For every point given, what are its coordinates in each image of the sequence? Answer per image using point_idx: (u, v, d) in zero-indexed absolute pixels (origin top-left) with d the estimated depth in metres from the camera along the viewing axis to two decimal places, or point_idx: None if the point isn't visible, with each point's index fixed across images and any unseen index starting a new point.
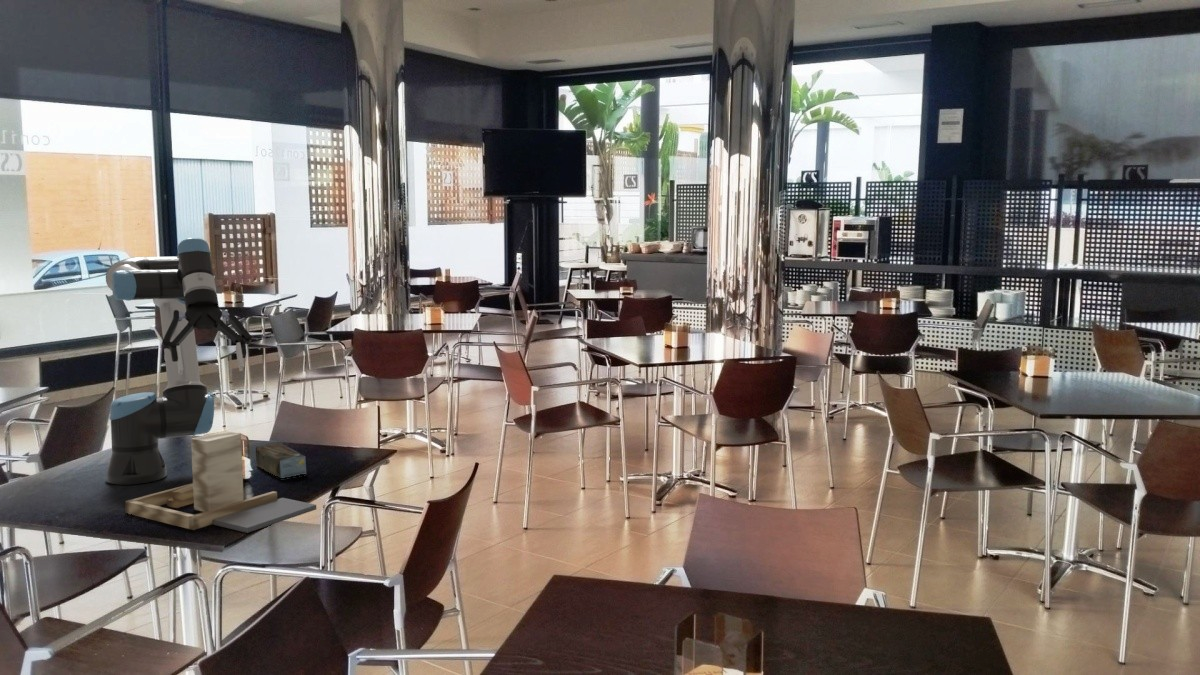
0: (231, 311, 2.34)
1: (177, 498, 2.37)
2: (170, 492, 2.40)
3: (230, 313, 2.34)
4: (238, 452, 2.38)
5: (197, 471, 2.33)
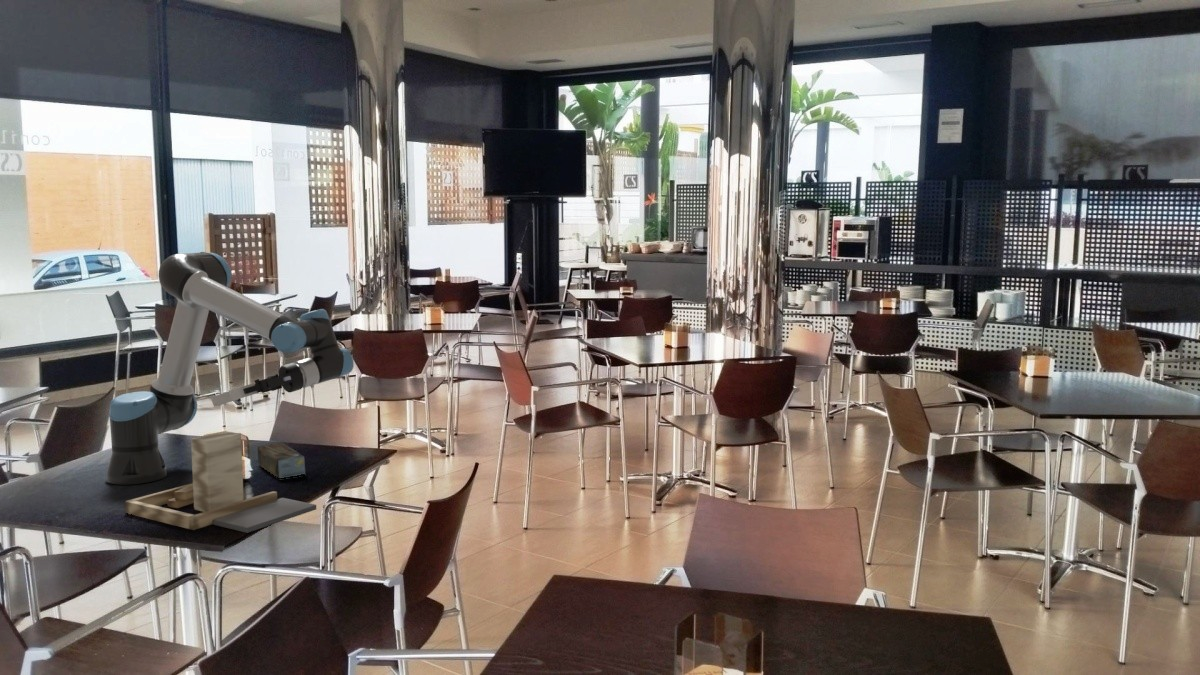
0: None
1: (180, 498, 2.37)
2: (170, 492, 2.40)
3: None
4: (238, 452, 2.38)
5: (197, 471, 2.33)
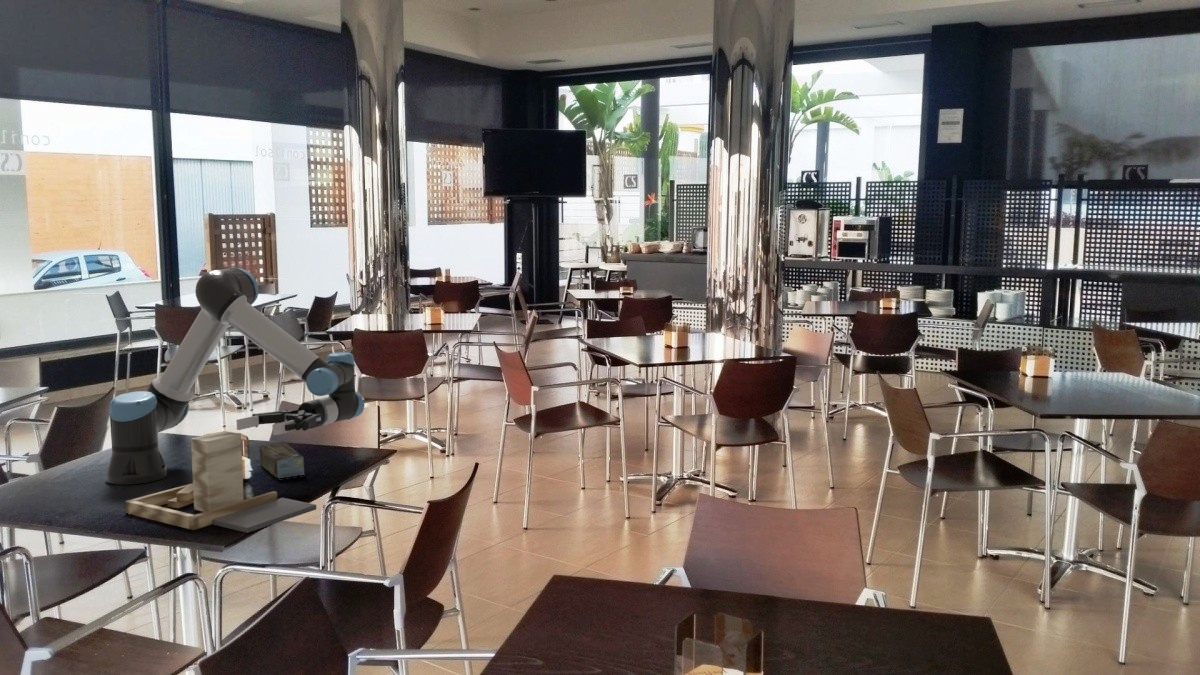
0: (285, 419, 2.62)
1: (182, 499, 2.37)
2: (170, 492, 2.40)
3: None
4: (238, 452, 2.38)
5: (197, 471, 2.33)
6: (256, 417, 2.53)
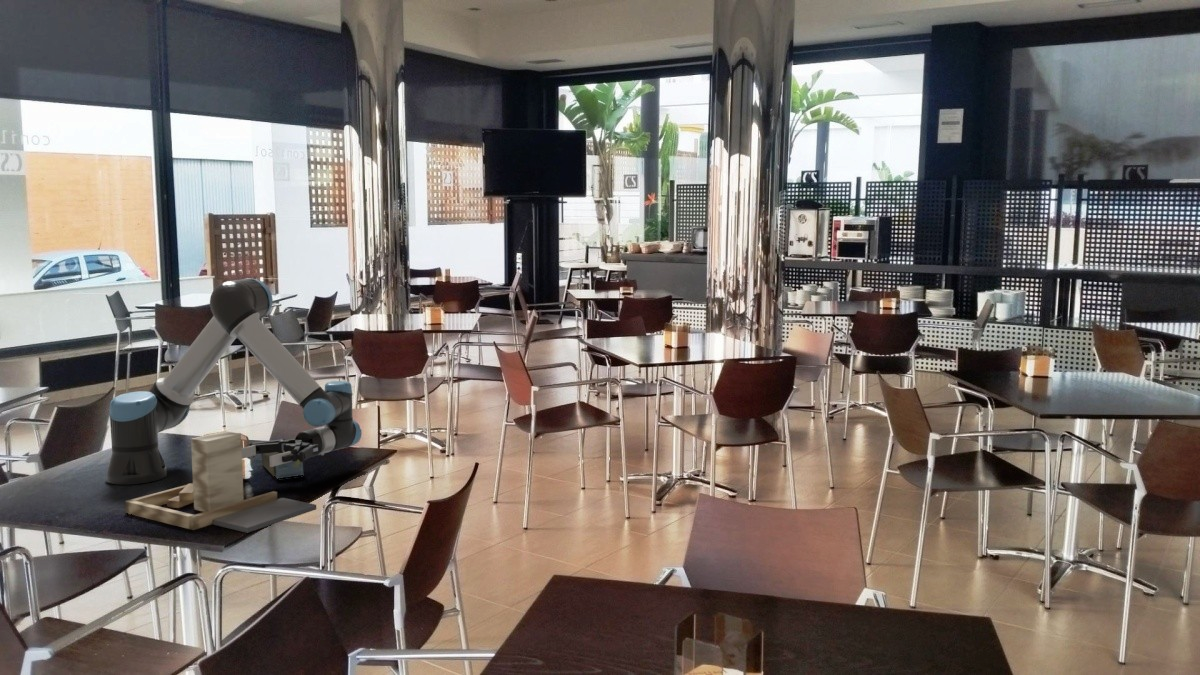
0: (282, 448, 2.62)
1: (185, 499, 2.36)
2: (170, 492, 2.40)
3: None
4: (238, 452, 2.38)
5: (197, 471, 2.33)
6: (253, 447, 2.54)
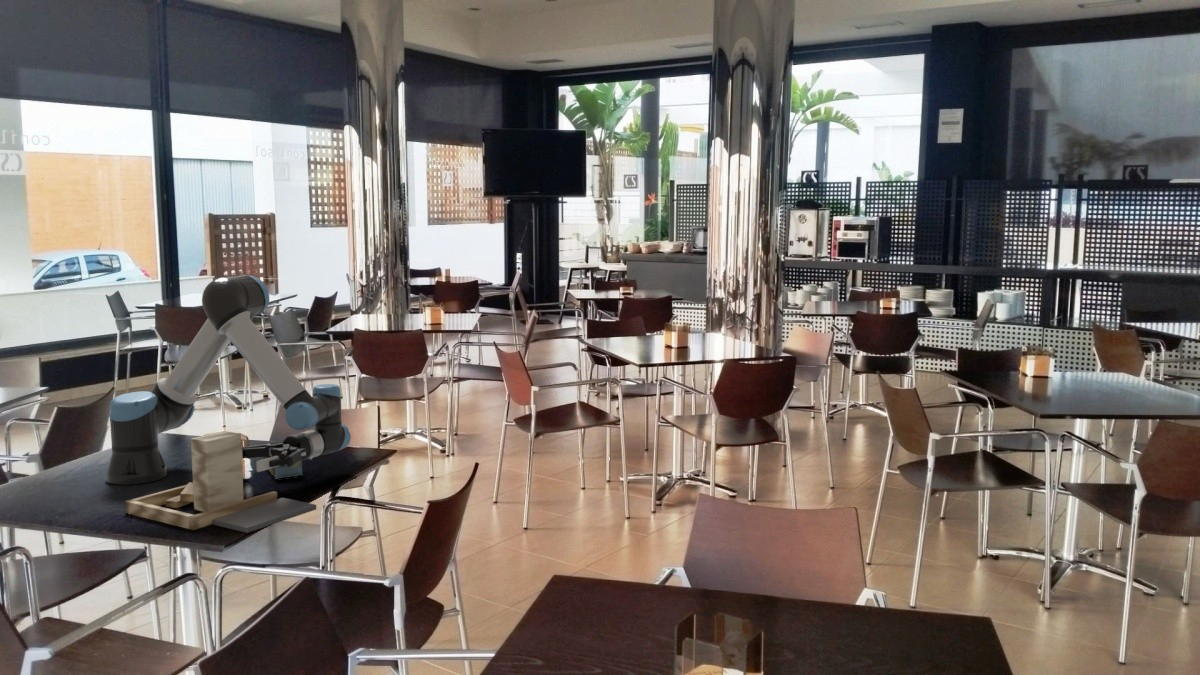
0: None
1: (186, 500, 2.37)
2: (170, 492, 2.40)
3: None
4: (238, 452, 2.38)
5: (197, 471, 2.33)
6: None
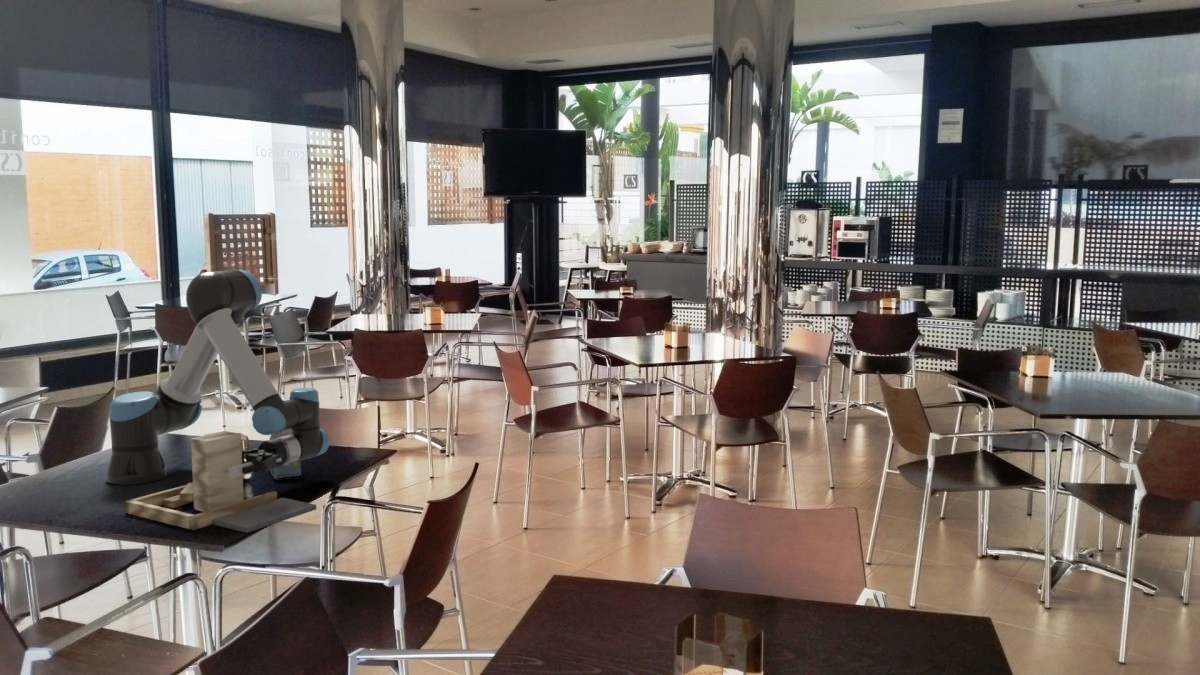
0: None
1: (186, 499, 2.37)
2: (170, 492, 2.40)
3: None
4: (238, 452, 2.38)
5: (197, 471, 2.33)
6: None
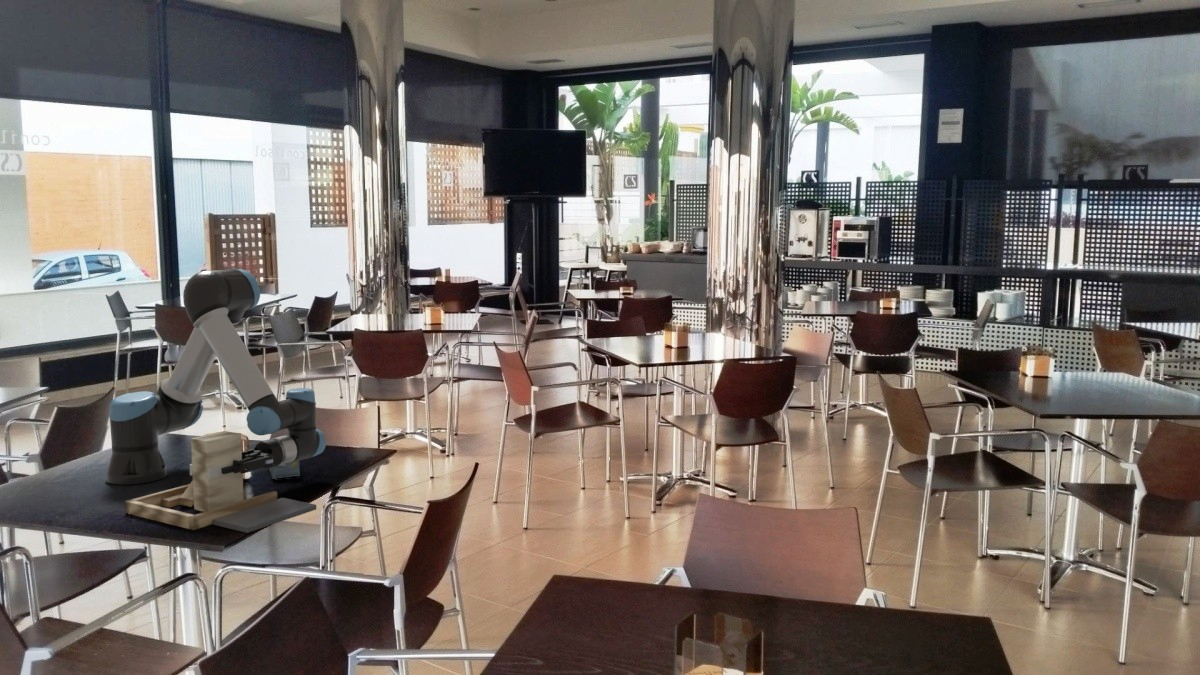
0: None
1: (185, 504, 2.37)
2: (170, 492, 2.40)
3: None
4: (238, 452, 2.38)
5: (197, 471, 2.33)
6: None
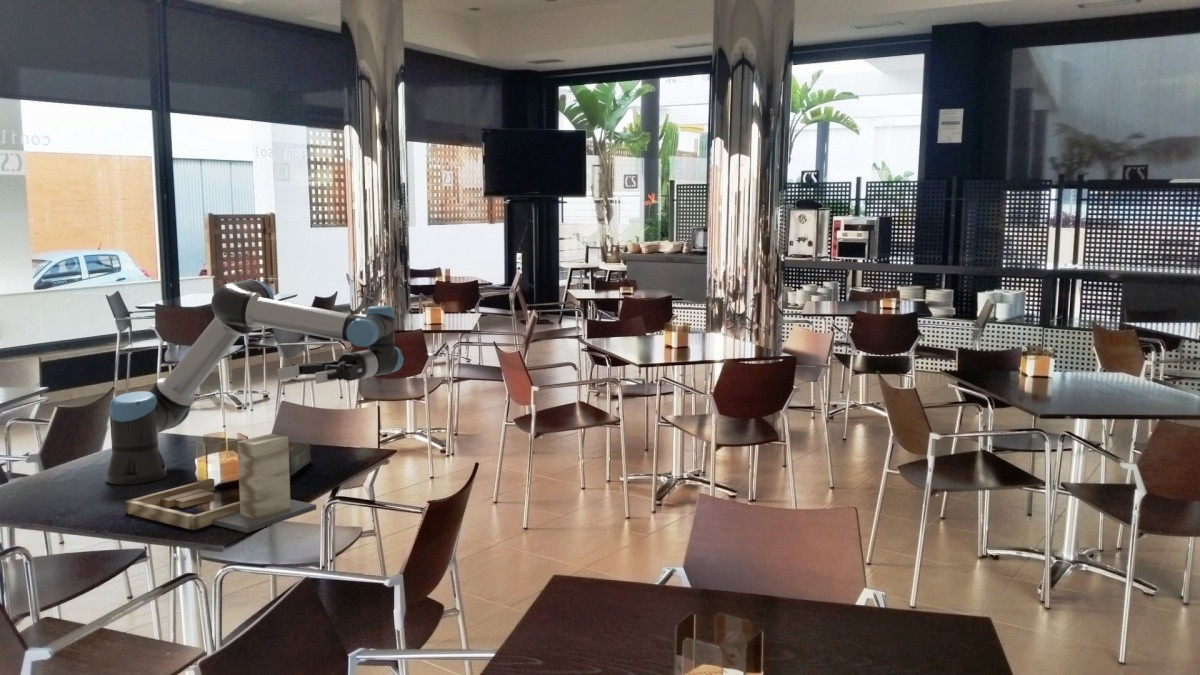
0: None
1: None
2: (170, 492, 2.40)
3: None
4: (285, 456, 2.30)
5: (243, 476, 2.24)
6: (297, 367, 2.50)
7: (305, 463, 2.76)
